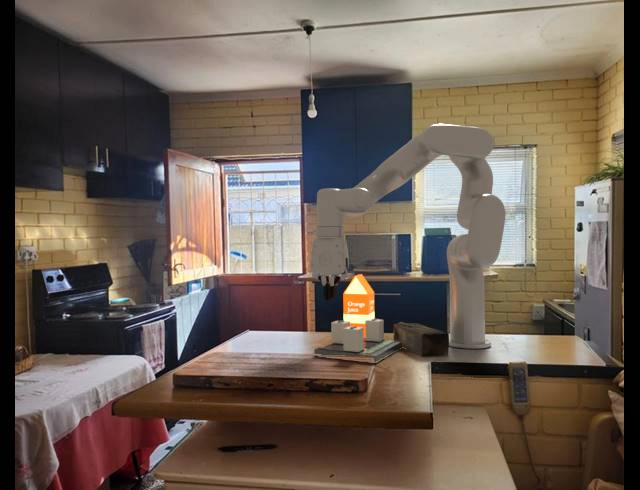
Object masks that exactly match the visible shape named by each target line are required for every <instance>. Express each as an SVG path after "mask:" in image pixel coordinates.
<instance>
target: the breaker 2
mask: <svg viewBox="0 0 640 490" xmlns="http://www.w3.org/2000/svg"><path fill="white" fill-rule="evenodd" d="M384 321H385V320H384V319H379V318H376V317H375V319H368V320H366V321H365V332H366V340H367V341H377V342H379V341H381V340H383V339H385V337H384V336H385V332H384V327H385V326H384V325H385V323H384Z"/></svg>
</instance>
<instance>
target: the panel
mask: <svg viewBox="0 0 640 490" xmlns="http://www.w3.org/2000/svg"><path fill="white" fill-rule="evenodd" d="M400 348H402V342H401V341H394V339H393V340H391V339H389V340H388V339H387V340H386V339H385V338H384V339H383V340H381V341H379V342H377V341H367V340H366V338H364V349H363V350H361V351H359V352H353V351H344V350H343V344H339V343H332V341H329V342H327V343H324V344H322V345H319V346H317V347H316V348H314V349H313V350H314V354H321V355H345V356H365V357H372V358H374V360H375V362H376V361H378V360H380V359H381V358H384V357H385V356H387V355H389V354H391V353H393V352H395V351H397V350H399V349H400ZM402 349H403V348H402ZM399 351H400V350H399ZM397 352H398V351H397ZM314 354H313V355H314Z"/></svg>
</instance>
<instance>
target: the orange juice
mask: <svg viewBox="0 0 640 490" xmlns="http://www.w3.org/2000/svg"><path fill="white" fill-rule="evenodd" d="M342 297H343V299H342V300H343V301H342V302H343V317H342V318H343V320H344V321H348V322H350V326H351V327H353V326H357V327H363V328H364V338H366V332H365V321H366V320H368V319H375V318H376V316H375V291H374V290H373V288H372V287H371V285H370V284H369V282H368V281H367V280H366V278H365V277H364V275H363V273H361V274H357V275H355V276H354V277H353V279H352V280H351V282H350V283H349V285H348V286H347V288H346V289H345V290H344V292H343V296H342Z"/></svg>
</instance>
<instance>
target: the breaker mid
mask: <svg viewBox="0 0 640 490" xmlns="http://www.w3.org/2000/svg"><path fill="white" fill-rule="evenodd" d="M330 324H331V325H330V326H331V327H330V329H331V330H330V331H331V332H330V337H331V341H332V343H339V344H343V328H346V327H349V326H350V322H348V321H344V319H343V320H342V319H341V320H335V321H332V322H331V323H330ZM331 341H330V342H331Z"/></svg>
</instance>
